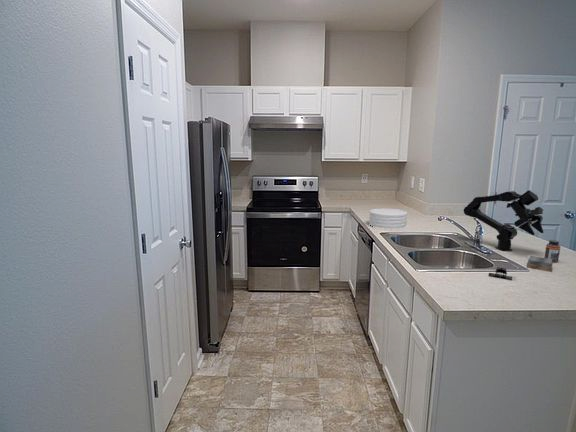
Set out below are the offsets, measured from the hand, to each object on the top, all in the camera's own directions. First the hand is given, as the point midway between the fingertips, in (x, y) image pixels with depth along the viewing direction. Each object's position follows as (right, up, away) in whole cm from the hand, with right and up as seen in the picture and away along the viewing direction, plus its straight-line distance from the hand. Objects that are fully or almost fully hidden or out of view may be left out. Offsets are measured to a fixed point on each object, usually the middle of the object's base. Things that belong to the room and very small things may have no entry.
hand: (538, 233), depth 181 cm
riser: (-9, -16, -13) cm, 23 cm away
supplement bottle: (+4, -15, -4) cm, 16 cm away
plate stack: (-59, +2, +78) cm, 98 cm away
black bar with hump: (-37, -20, -25) cm, 49 cm away
